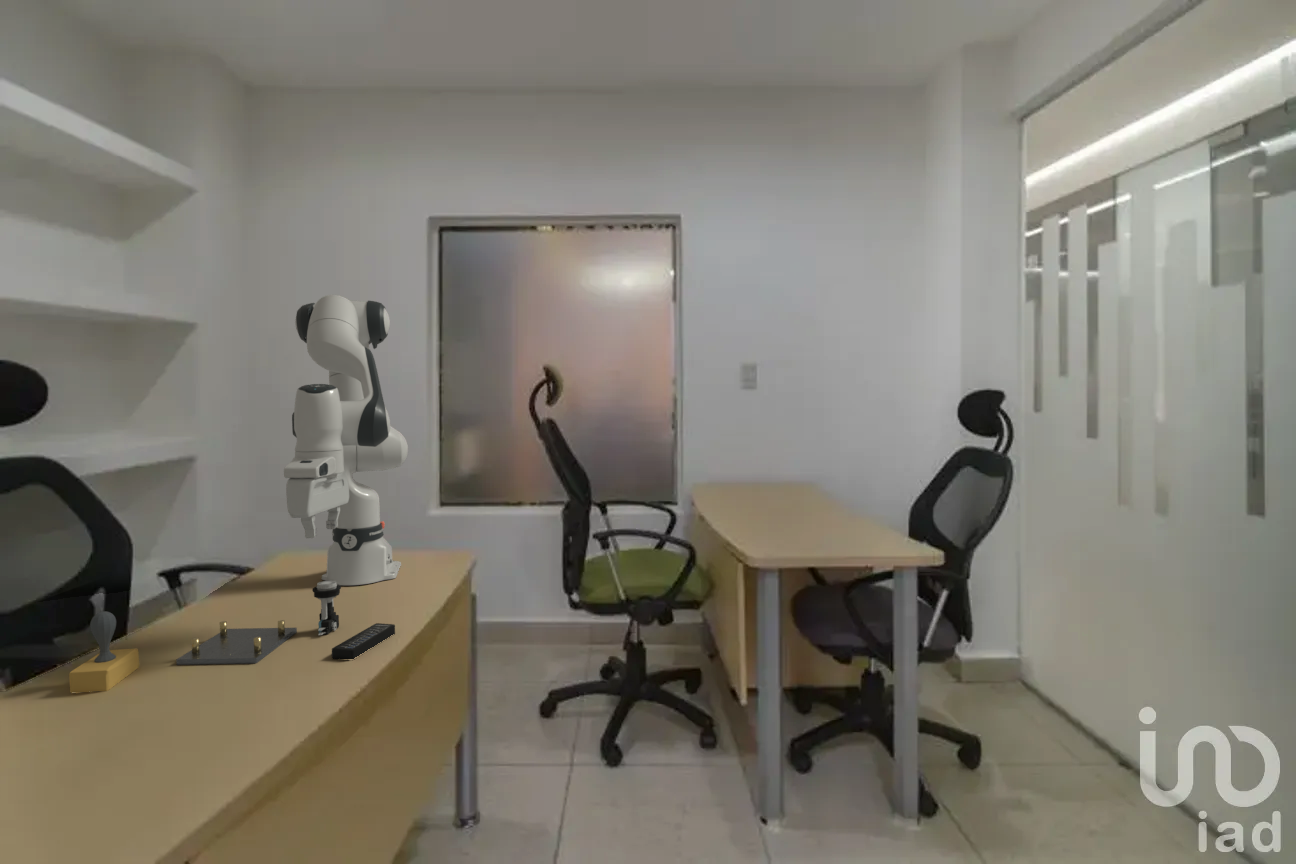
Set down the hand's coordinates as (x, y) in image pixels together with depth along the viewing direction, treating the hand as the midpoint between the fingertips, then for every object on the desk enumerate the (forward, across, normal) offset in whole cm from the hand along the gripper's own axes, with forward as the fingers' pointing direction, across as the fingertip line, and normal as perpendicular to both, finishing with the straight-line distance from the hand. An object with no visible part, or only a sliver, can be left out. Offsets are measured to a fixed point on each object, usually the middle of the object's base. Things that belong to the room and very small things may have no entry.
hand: (322, 533), depth 141 cm
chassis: (+20, +8, -13) cm, 25 cm away
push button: (+21, 0, 0) cm, 21 cm away
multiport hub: (+21, +7, +11) cm, 25 cm away
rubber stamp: (+21, +22, -27) cm, 41 cm away
